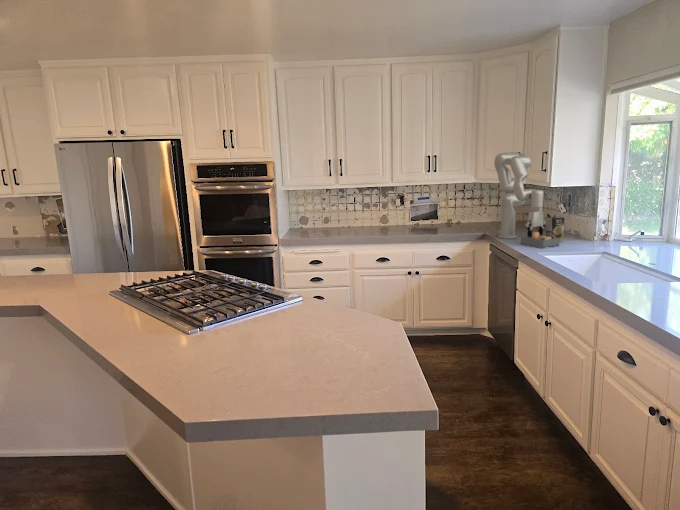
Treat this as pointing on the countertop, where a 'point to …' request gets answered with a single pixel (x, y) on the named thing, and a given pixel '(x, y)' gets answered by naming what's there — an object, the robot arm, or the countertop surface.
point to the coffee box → (555, 227)
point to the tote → (539, 241)
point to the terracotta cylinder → (535, 235)
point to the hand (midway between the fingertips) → (535, 235)
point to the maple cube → (544, 238)
